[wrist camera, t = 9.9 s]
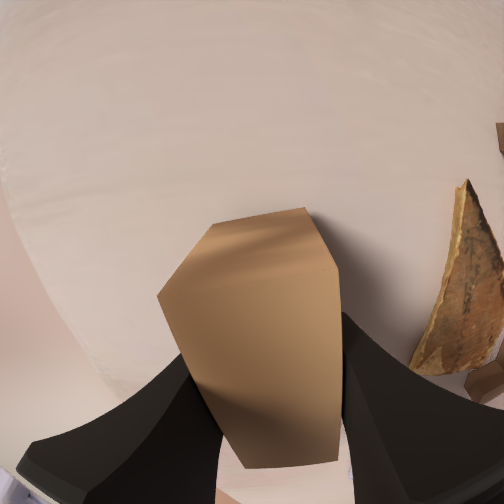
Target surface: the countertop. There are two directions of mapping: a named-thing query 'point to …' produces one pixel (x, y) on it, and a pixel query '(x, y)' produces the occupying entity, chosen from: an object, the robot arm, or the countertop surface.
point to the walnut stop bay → (499, 371)
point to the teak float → (263, 336)
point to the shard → (465, 296)
